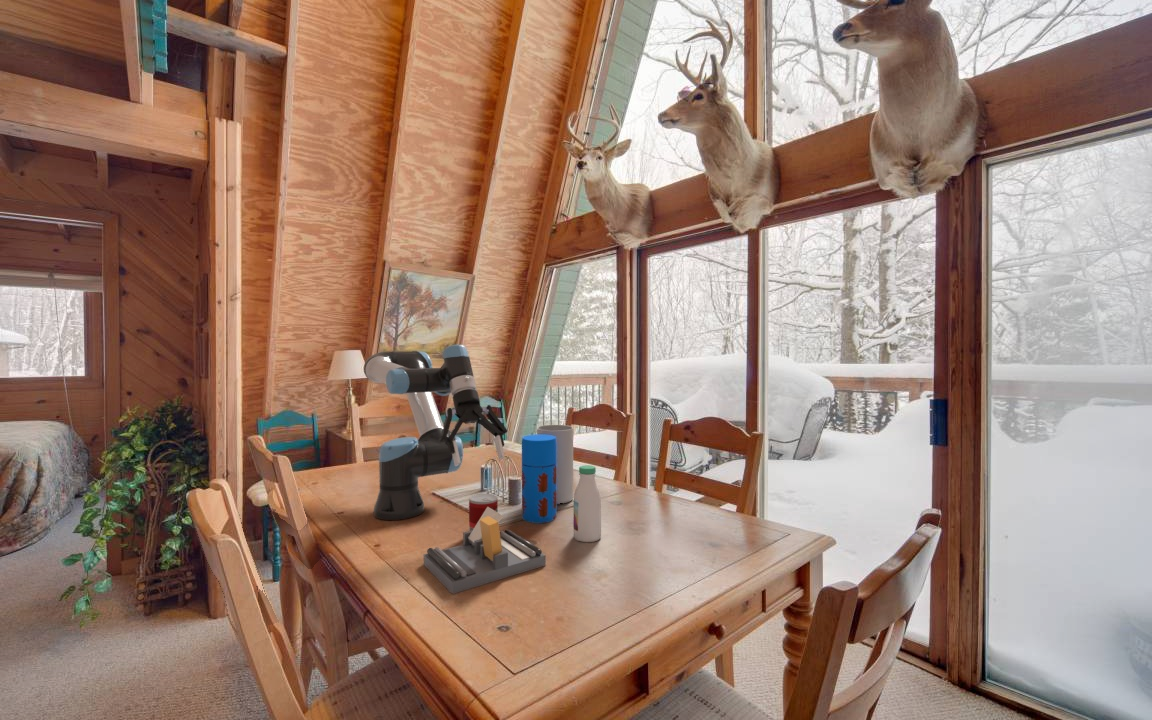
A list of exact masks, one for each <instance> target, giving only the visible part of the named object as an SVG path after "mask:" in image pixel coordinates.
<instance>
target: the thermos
mask: <svg viewBox="0 0 1152 720" xmlns="http://www.w3.org/2000/svg"><path fill="white" fill-rule="evenodd" d="M557 505H558V504H557V441H556V437H555V436H552V435H537V434H527V435H525V436H522V438H521V510H522V511H521V512H522V520H524V521H525V522H528V523H532V524H542V523H543V524H545V523H549V522H553V521H554V520H555V519H556V518H557V507H558V506H557Z"/></svg>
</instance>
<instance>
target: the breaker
mask: <svg viewBox="0 0 1152 720" xmlns="http://www.w3.org/2000/svg"><path fill="white" fill-rule="evenodd" d="M487 516H489V517H491V518H493V519H494V520H496V521H498V524H500V522H501V520H502V518H503V517H504V515H503V514H501V513H500V512H496V511H494V510H493V509H491V508H489V507H487V508H486V510H485V511H484V513H483V515H482V516H481V518H480V519H482V518H485V517H487ZM480 519H479V521H478V523H477V524H476V526H475V527H474V529H473V531H472V532H471V534H470V536H469V537H468V538H469V543H470V544H472V545H473V546H474V541H475V540H479V539H482V534H481V527H480ZM474 547H475V546H474Z"/></svg>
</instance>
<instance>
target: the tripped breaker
mask: <svg viewBox="0 0 1152 720" xmlns="http://www.w3.org/2000/svg"><path fill="white" fill-rule="evenodd" d="M499 524H500V523H498V521H496V520H494V519H493V518H491V517H489V516H487V517H485V518H482V519H480V527H481V534H482V541H483V548H484V555H485V556H486V557H488V558H489V559H490V560H492V561H493V554H497V553H500V552H502V545H501V538H500V532H501V530H500V525H499Z"/></svg>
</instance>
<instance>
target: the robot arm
mask: <svg viewBox="0 0 1152 720" xmlns="http://www.w3.org/2000/svg"><path fill="white" fill-rule="evenodd" d="M442 359H443V364H442V365H441V367H433V362H432V359H431V358H430V355H429V354H428V353H426V352H425V351H421V350H419V351H418V350H412V351H409V350H407V351H399V350H398V351H395V350H394V351H388V350H385V351H381V352H377V353H374V354H372V355H370V356H369V357H368V358H367V359H366V360H365V361H364V364H363V373H364V376H365V377H366V378H367V379H368V381H371V382H373V383H377V384H384V385H386V389H387V392H388V393H389V394H391V395H392V394H393V395H397V394H398V395H403V394H405V395H406V397H407V400H408V404H409V407H410V409H411V412H412V416H413V418H414V423H415V425H416V428H417V431H418V434H419V437H418V438H417V437H415V436H408V437H397V438H394V439H390V440H387V441H385V442H383V443H382V444H381V446H380V447H379V450H378V451H379V452H378V453H379V454H378V463H379V464H378V465H379V468H378V470H379V475H378V477H379V491H378V495H377V497H376V501H375V504H374V507H373V516H374V518H377V519H379V520H383V521H399V520H405V519H410V518H414V517H417V516H419V515H421V514H423V513H424V511H425V503H424V499H423V497H422V494H421V491H420V489H419V478H423V477H428V476H436V475H441V474H449V473H452V472H456V471H458V470H459V469H460V467H461V465H462V463H463V459H464V446H463V441H462V439H461V437H459V436H457V434H458V431H459V430H460V429H461V427H462V425H463V424H465V425H466V424H467V425H468V424H476V423H477V424H478V425H481V426H482V427H483V428H484V429H486V430H487V431H488V432H489V433H490V434H492V435H493V436H494V438H493V441H494V445H495V450H496V454H497V458H498V460H503V459H504V458H505V457H506V455H505V451H504V447H505V442H504V437H503V436H504V435H505V434H506V433H508V430H507V428H506V427H505V425H504V424H503V423H502V421H501V420H500V419H499V417H498V416H497V415H496V414H495V412H494V411H493V408H492V405H491V404H487V406H483V407H482V405H481V401H480V397H479V392H478V391H477V389H478V388H477V384H476V381H475V377H474V372H473V368H472V364H471V359H470V355H469V352H468V349H467V347H466V346H465V345H463V344H451V345H449V346H447V347H445V348H444V349H443V351H442ZM433 393H435V395H438V396H442V397H445V396H449V395H451V396H452V401H453V406H454V407H453V408H454V409H453V408H451V407H448V408H447V410H446V411H445V412H444V415H445V416H444V417H445V420H444V423H443V421H442V417H441V415H440V412H439V410H438V406H437V404H436V400H435V397H434V396H433ZM454 416H456V418H458V420H457V422H456V423H455V425H454V427H453V429H452V430H450V427H451V423H452V419H453V417H454Z"/></svg>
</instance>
